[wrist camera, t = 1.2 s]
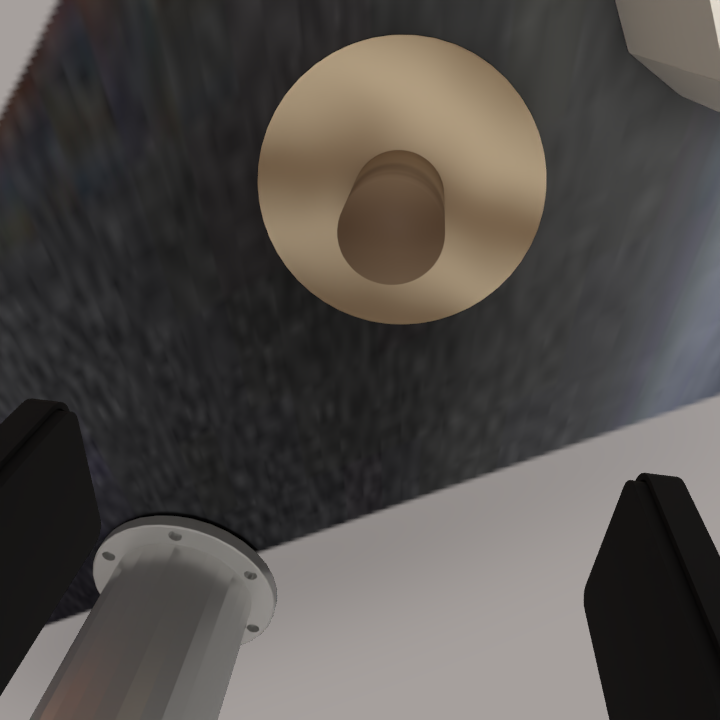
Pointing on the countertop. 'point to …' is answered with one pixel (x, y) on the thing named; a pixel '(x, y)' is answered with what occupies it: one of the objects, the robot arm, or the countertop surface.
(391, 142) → the lid
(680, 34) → the pot
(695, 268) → the countertop surface
